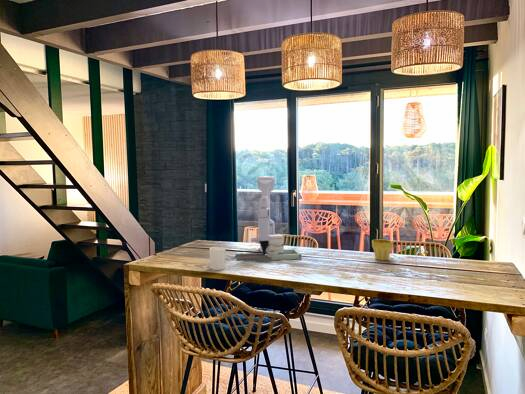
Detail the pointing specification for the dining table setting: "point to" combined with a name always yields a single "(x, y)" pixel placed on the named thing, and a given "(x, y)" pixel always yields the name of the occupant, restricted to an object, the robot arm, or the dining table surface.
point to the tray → (287, 255)
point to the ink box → (275, 245)
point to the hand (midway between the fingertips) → (264, 254)
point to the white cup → (217, 258)
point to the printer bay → (248, 257)
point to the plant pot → (382, 248)
